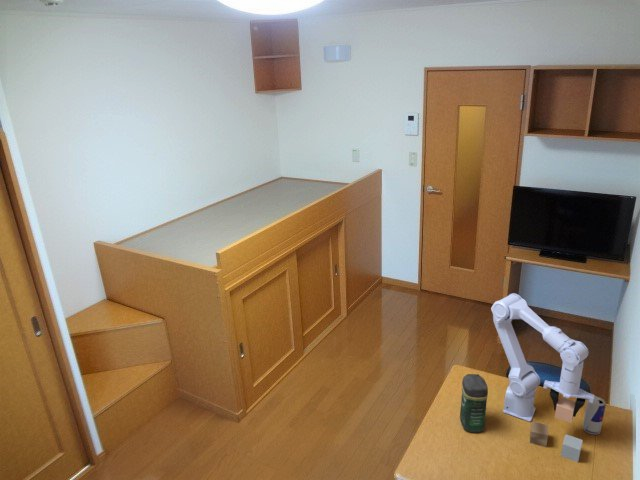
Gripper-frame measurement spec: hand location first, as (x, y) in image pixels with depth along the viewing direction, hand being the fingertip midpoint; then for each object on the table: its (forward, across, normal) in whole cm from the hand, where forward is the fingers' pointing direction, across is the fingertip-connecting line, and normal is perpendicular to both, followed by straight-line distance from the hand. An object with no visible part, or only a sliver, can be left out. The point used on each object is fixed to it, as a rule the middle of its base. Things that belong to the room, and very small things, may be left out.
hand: (565, 411), depth 160 cm
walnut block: (+10, -6, -6) cm, 13 cm away
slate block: (+10, +4, -7) cm, 13 cm away
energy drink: (+10, +8, +8) cm, 15 cm away
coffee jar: (+10, -27, -10) cm, 31 cm away
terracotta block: (+2, 0, 0) cm, 2 cm away
